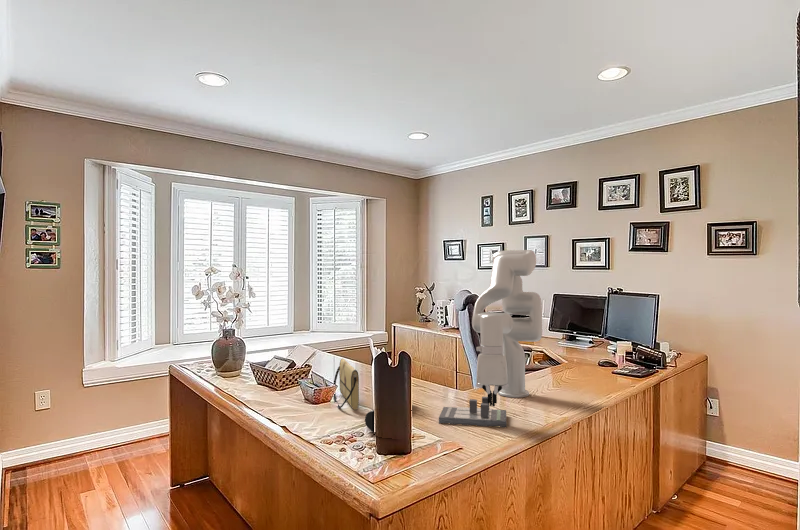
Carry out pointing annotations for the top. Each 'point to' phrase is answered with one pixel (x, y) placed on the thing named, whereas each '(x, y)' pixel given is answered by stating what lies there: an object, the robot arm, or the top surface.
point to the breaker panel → (472, 417)
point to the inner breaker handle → (485, 401)
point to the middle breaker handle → (473, 405)
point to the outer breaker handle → (484, 410)
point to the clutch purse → (348, 384)
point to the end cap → (370, 420)
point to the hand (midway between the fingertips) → (492, 405)
